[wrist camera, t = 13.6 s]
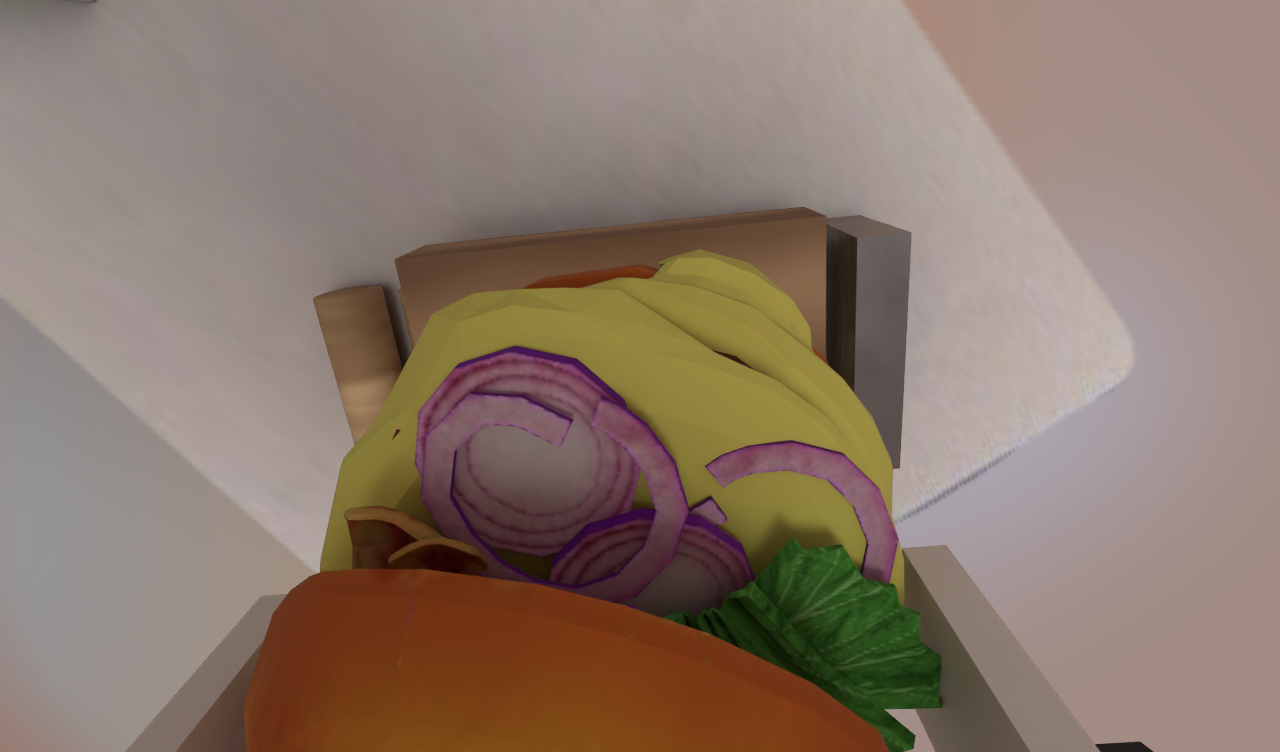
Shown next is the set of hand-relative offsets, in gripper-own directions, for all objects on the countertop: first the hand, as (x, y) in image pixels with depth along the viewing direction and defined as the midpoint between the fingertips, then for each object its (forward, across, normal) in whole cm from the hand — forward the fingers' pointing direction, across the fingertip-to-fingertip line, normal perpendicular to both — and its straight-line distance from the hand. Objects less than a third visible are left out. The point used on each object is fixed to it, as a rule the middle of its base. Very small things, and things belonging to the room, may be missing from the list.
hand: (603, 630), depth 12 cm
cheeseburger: (+3, 0, +1) cm, 3 cm away
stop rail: (+21, +10, 0) cm, 23 cm away
